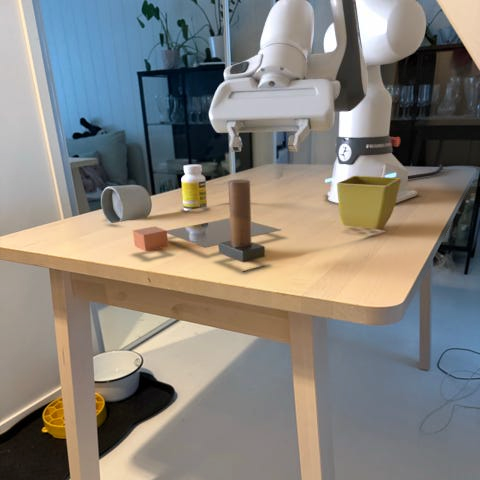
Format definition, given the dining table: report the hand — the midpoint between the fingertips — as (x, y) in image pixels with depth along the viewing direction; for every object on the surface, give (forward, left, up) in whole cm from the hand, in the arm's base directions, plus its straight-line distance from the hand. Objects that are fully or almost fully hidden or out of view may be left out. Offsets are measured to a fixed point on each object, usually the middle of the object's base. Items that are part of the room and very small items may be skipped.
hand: (263, 148), depth 72 cm
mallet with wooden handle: (+9, +6, -15) cm, 19 cm away
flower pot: (-19, +6, -15) cm, 25 cm away
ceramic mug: (+10, -34, -15) cm, 39 cm away
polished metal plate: (+3, -8, -15) cm, 17 cm away
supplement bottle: (-7, -33, -15) cm, 37 cm away
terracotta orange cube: (+15, -7, -13) cm, 21 cm away
